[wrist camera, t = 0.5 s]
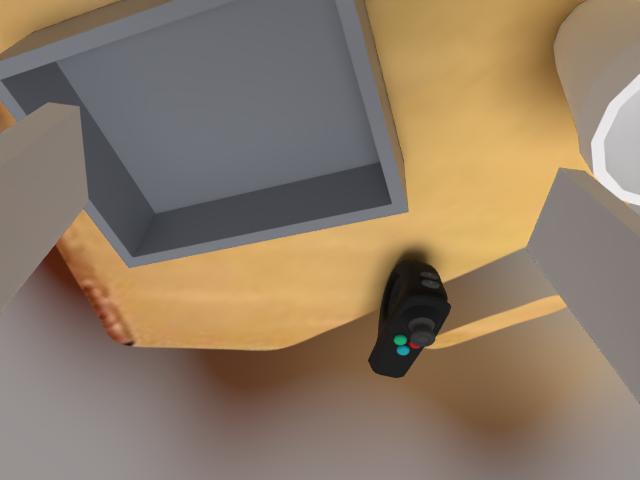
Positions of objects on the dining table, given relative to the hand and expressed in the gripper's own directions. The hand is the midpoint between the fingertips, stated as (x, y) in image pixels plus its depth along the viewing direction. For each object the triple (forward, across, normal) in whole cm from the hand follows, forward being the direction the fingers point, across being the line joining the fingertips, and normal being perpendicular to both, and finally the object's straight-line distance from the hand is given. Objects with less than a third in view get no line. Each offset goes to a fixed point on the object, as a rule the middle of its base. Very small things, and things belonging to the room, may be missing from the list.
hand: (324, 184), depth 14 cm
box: (+27, -5, -6) cm, 28 cm away
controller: (+29, +13, -22) cm, 39 cm away
